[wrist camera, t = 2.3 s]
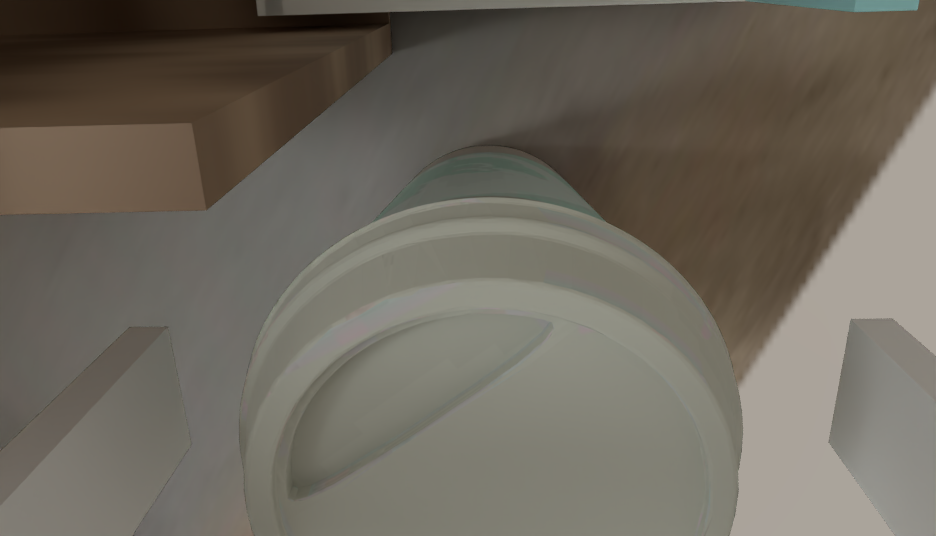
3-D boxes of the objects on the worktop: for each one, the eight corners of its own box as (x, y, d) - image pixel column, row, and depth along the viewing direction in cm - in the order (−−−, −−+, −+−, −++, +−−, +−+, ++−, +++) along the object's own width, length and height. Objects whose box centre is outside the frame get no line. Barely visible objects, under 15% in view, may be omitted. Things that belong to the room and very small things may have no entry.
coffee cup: (627, 82, 20) (798, 212, 9) (631, 353, 24) (763, 696, 12) (324, 110, 21) (139, 267, 10) (368, 373, 24) (266, 719, 13)
